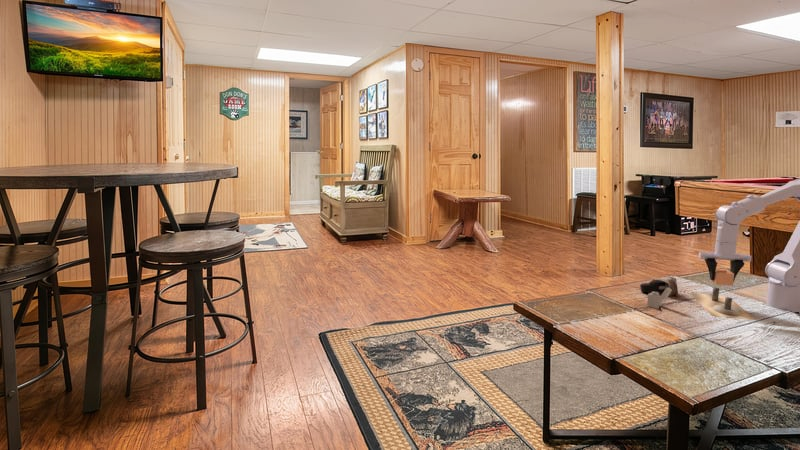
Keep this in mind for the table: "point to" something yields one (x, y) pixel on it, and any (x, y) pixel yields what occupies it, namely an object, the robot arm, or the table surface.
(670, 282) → the caster wheel
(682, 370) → the table surface
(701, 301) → the board
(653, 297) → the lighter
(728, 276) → the collar
